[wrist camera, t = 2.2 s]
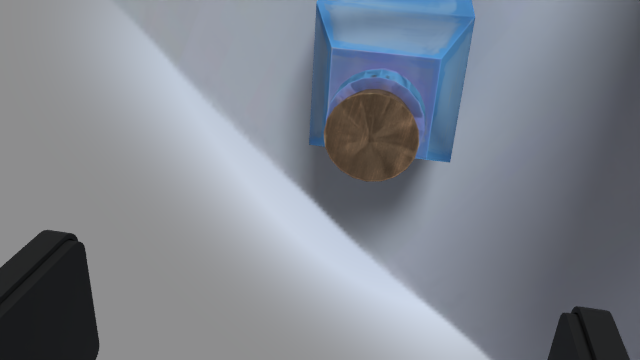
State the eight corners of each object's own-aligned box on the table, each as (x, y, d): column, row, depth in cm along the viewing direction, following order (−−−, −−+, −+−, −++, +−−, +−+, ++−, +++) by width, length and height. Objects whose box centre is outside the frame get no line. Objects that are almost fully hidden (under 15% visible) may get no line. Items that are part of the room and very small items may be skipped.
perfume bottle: (448, 113, 31) (451, 232, 21) (332, 99, 32) (276, 207, 21) (469, -10, 28) (483, 56, 18) (340, -21, 29) (281, 35, 19)
